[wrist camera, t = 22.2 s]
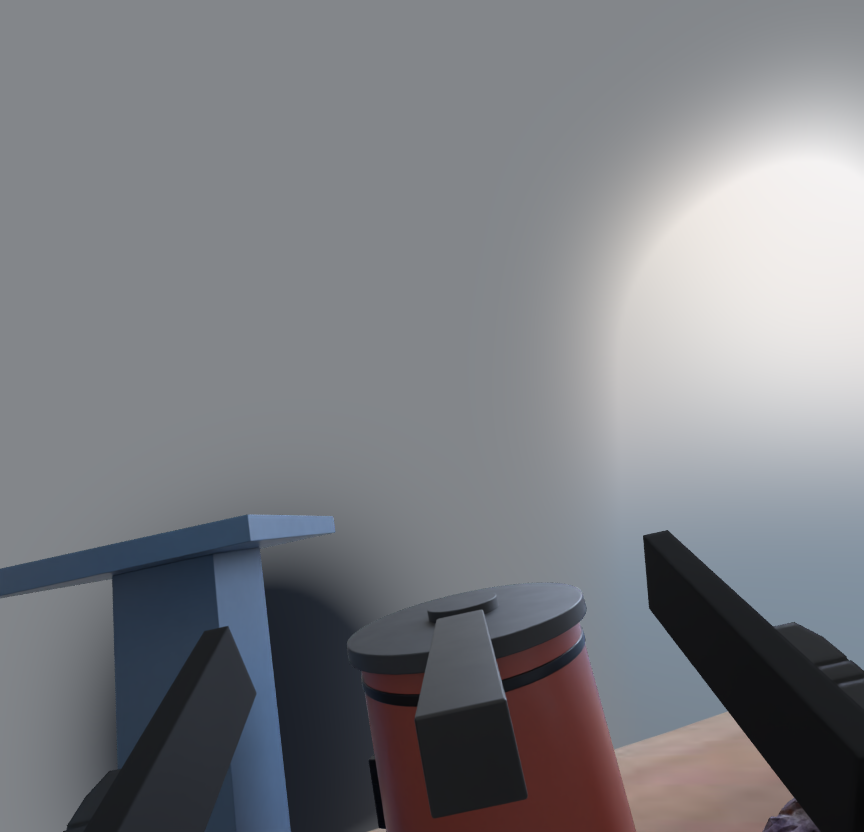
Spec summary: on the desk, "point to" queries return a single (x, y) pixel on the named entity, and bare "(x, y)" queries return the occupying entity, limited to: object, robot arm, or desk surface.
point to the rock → (791, 820)
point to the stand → (191, 637)
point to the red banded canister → (536, 741)
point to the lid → (467, 682)
